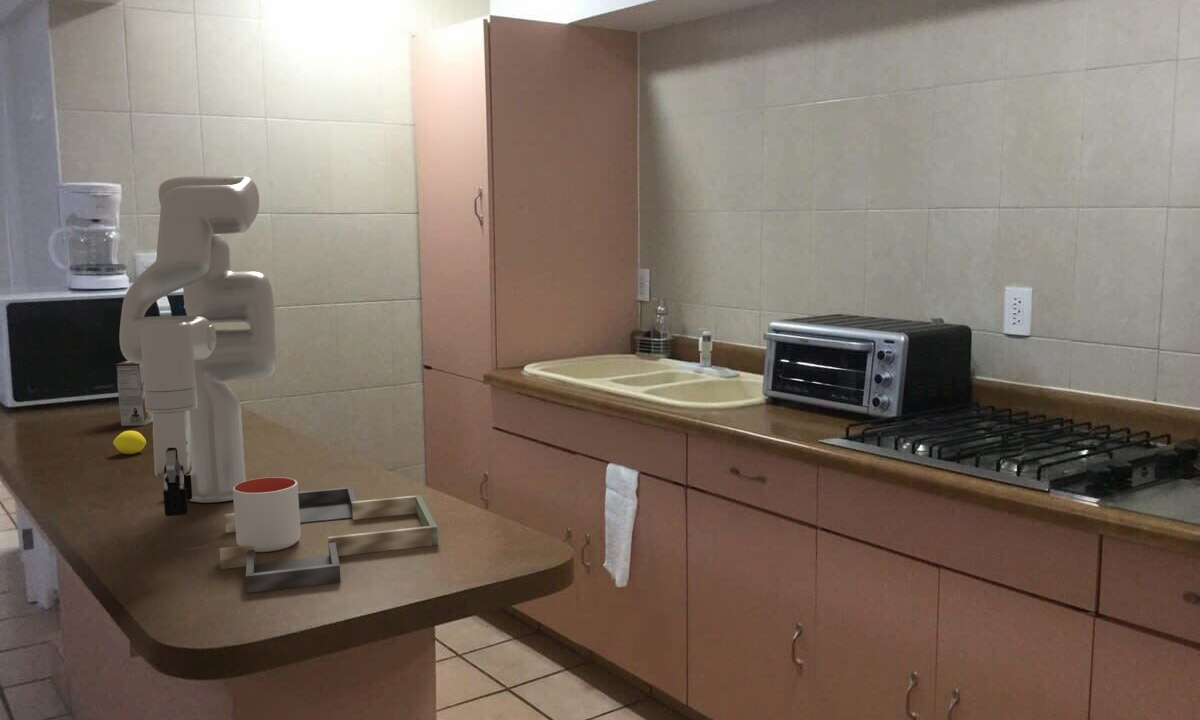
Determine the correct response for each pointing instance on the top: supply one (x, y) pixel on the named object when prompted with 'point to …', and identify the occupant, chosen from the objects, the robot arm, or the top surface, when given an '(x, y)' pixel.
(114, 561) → the top surface
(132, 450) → the lemon
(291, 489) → the cup
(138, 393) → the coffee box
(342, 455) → the top surface
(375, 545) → the box
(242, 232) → the robot arm
